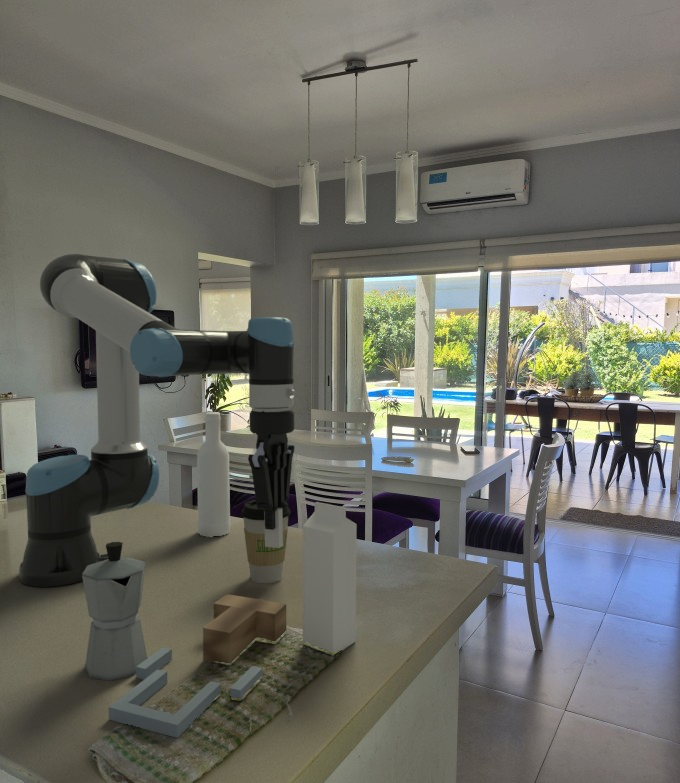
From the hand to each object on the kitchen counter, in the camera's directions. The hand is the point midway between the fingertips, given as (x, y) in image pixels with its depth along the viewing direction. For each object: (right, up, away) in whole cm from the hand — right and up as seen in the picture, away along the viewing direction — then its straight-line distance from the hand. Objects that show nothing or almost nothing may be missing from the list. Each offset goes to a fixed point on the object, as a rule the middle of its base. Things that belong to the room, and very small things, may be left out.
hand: (273, 545), depth 106 cm
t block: (-5, -13, -10) cm, 17 cm away
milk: (+10, -13, -10) cm, 19 cm away
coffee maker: (-22, -13, -15) cm, 30 cm away
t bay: (-10, -14, -24) cm, 29 cm away
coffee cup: (-3, -11, +18) cm, 21 cm away
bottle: (-20, -9, +47) cm, 52 cm away
